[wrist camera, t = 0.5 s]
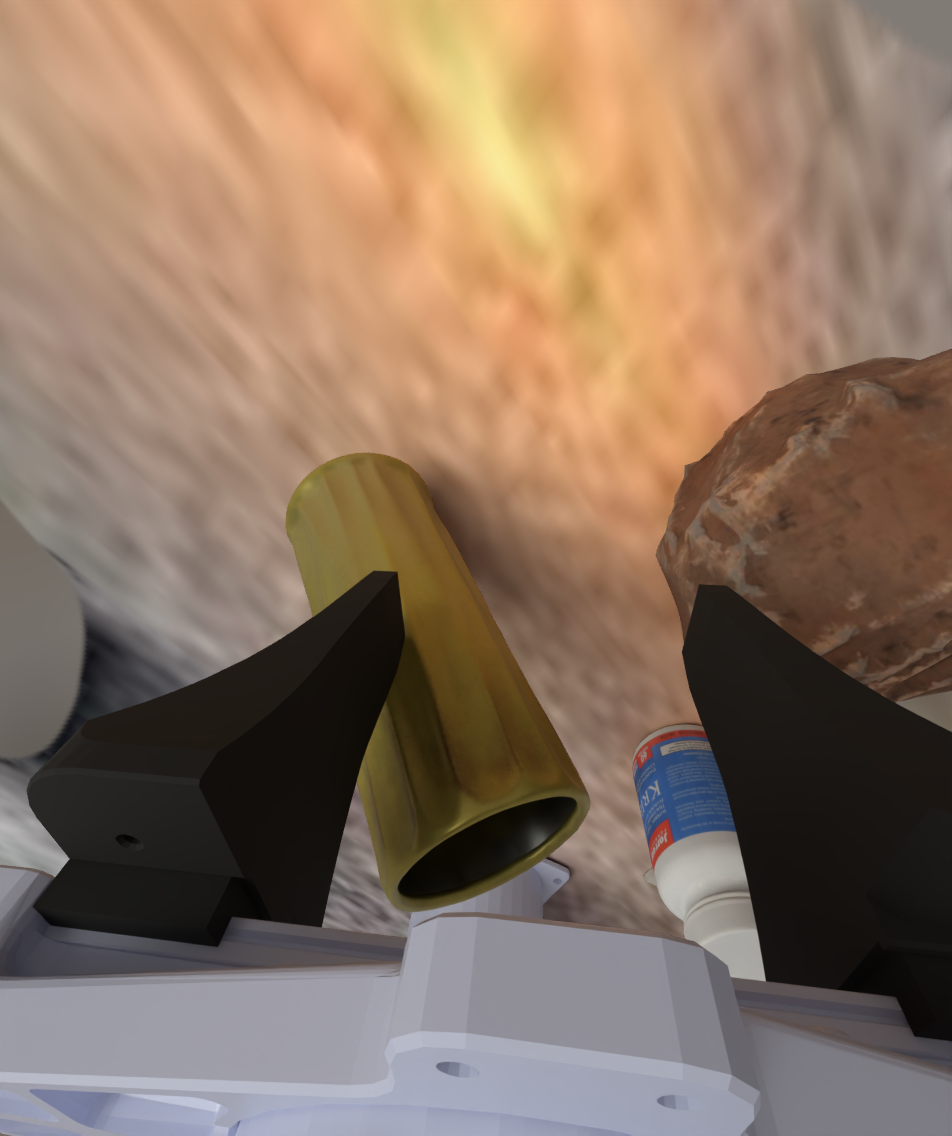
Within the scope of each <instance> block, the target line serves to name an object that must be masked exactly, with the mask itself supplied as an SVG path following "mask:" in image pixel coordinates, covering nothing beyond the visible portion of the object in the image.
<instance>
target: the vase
mask: <svg viewBox="0 0 952 1136" xmlns="http://www.w3.org/2000/svg"><path fill="white" fill-rule="evenodd" d="M286 531H287V535H288V537H289V539H290V541H291V543H292V545H293V548H294V552H295V555H296V559H297V563H298V566H299V570H300V573H301V577H302V580H303V584H304V587H305V591H306V594H307V597H308V600H309V604H310V608H311V612H312V616H313V617H314V616H315V615H317V614H318V613H320V612H321V611H322V610H324V609H325V608H326V607H327V606H329V605H330V604H331V603H333V602H334V601H335V600H336V599H338V598H339V597H340V596H342V595H343V594H344V593H345V592H347V591H348V590H349V589H350V588H352V587H353V586H354V585H356V584H357V583H358V582H359V581H361V580H362V579H363V578H364V577H366V576H367V575H368V574H370V573H371V572H373V571H396V572H398V579H399V588H400V596H401V604H402V612H403V621H404V629H405V640H404V644H403V649H402V653H401V657H400V661H399V665H398V669H397V672H396V675H395V677H394V680H393V683H392V685H391V688H390V690H389V693H388V696H387V698H386V701H385V703H384V706H383V708H382V711H381V713H380V716H379V718H378V721H377V723H376V726H375V728H374V731H373V733H372V736H371V738H370V741H369V743H368V746H367V749H366V752H365V755H364V758H363V761H362V764H361V767H360V771H359V775H358V778H357V786H358V790H359V793H360V797H361V800H362V804H363V807H364V811H365V815H366V818H367V822H368V826H369V830H370V834H371V838H372V843H373V847H374V851H375V855H376V860H377V865H378V871H379V876H380V881H381V885H382V887H383V890H384V892H385V894H386V896H387V898H388V900H389V901H390V903H391V904H392V905H393V906H394V907H395V908H397V909H399V910H402V911H407V912H422V911H428V910H434V909H438V908H442V907H446V906H450V905H454V904H457V903H460V902H463V901H466V900H469V899H471V898H474V897H476V896H479V895H481V894H483V893H486V892H488V891H490V890H492V889H494V888H496V887H498V886H500V885H502V884H504V883H506V882H508V881H510V880H512V879H514V878H515V877H517V876H519V875H521V874H522V873H524V872H526V871H527V870H529V869H530V868H532V867H534V866H535V865H537V864H538V863H540V862H541V861H542V860H544V859H545V858H547V857H548V856H549V855H550V854H551V853H553V852H554V851H555V850H556V849H557V848H559V847H560V846H561V845H562V844H563V843H564V842H565V841H566V840H568V839H569V838H570V837H571V836H572V835H573V834H574V833H575V832H576V831H577V830H578V828H579V827H580V825H581V824H582V822H583V821H584V819H585V817H586V815H587V813H588V811H589V809H590V798H589V795H588V793H587V790H586V788H585V786H584V784H583V782H582V780H581V778H580V776H579V774H578V772H577V770H576V768H575V766H574V764H573V762H572V761H571V759H570V757H569V755H568V753H567V751H566V749H565V747H564V746H563V744H562V742H561V740H560V738H559V736H558V735H557V733H556V731H555V729H554V727H553V726H552V724H551V722H550V720H549V719H548V717H547V715H546V713H545V712H544V710H543V708H542V707H541V705H540V703H539V701H538V700H537V698H536V696H535V694H534V693H533V691H532V689H531V687H530V685H529V684H528V682H527V680H526V678H525V676H524V674H523V673H522V671H521V669H520V667H519V665H518V663H517V661H516V660H515V658H514V656H513V654H512V653H511V651H510V649H509V647H508V645H507V643H506V641H505V639H504V637H503V635H502V633H501V631H500V629H499V628H498V626H497V624H496V622H495V620H494V618H493V616H492V614H491V612H490V610H489V608H488V606H487V604H486V602H485V600H484V598H483V596H482V595H481V593H480V591H479V589H478V587H477V585H476V583H475V581H474V579H473V578H472V576H471V574H470V572H469V570H468V568H467V566H466V564H465V562H464V560H463V558H462V556H461V554H460V552H459V550H458V549H457V547H456V545H455V543H454V541H453V540H452V538H451V536H450V534H449V532H448V531H447V529H446V528H445V526H444V525H443V523H442V522H441V520H440V518H439V517H438V515H437V514H436V512H435V510H434V508H433V502H432V498H431V496H430V493H429V490H428V488H427V486H426V484H425V482H424V481H423V479H422V478H421V477H420V475H419V474H418V473H417V472H416V471H415V470H414V469H413V468H412V467H411V466H409V465H408V464H406V463H405V462H403V461H401V460H398V459H396V458H393V457H390V456H386V455H382V454H376V453H355V454H350V455H345V456H341V457H338V458H335V459H333V460H331V461H328V462H326V463H325V464H323V465H321V466H319V467H318V468H316V469H315V470H313V471H312V472H311V473H310V474H309V475H308V476H307V477H306V478H305V479H304V480H303V481H302V482H301V483H300V484H299V485H298V487H297V488H296V490H295V491H294V493H293V495H292V497H291V499H290V502H289V504H288V508H287V513H286Z"/></svg>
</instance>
